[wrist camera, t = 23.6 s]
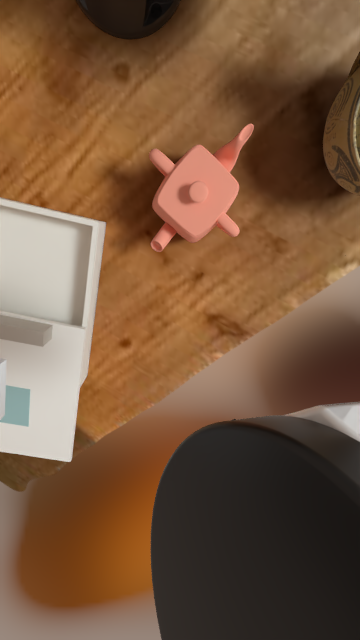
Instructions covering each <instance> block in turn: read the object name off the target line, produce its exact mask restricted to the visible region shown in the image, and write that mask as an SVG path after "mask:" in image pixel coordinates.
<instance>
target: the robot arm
mask: <svg viewBox="0 0 360 640" xmlns="http://www.w3.org/2000/svg"><path fill="white" fill-rule="evenodd" d="M180 1H181V0H76V2H77V3H78V5H79V7H80V8H81V10H82V11H83V12H84V14H85V15H86V16H87V17H88V19H89V20H90V21H91V22H92V23H94V24H95V25H96V26H97V27H98V28H100V29H101V30H103V31H104V32H106V33H108V34H110V35H112V36H115V37H118V38H122V39H138V38H143V37H146V36H148V35H151V34H153V33H154V32H156V31H157V30H159V29H160V28H161V27H162V26H164V25H165V24H166V23H167V21H168V20H169V19H170V18H171V17H172V15H173V14H174V12H175V11H176V9H177V7H178V5H179V3H180ZM6 361H7V359H3V358H0V420H1V419H2V418H3V417H4V415H5V396H6Z"/></svg>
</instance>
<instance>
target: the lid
mask: <svg viewBox="0 0 360 640" xmlns="http://www.w3.org/2000/svg"><path fill="white" fill-rule="evenodd" d="M86 329H87V328H85V327H80V326H75V325H70V324H65V323H60V322H55V321H50V320H45V319H40V318H34V317H29V316H24V315H19V314H14V313H9V312H4V311H0V358H3V359H7V361H6V396H5V415H4V417H3V418H2V419H1V420H0V451H1V452H7V453H14V454H21V455H27V456H34V457H40V458H47V459H53V460H60V461H67V462H70V461H71V459H72V452H73V443H74V434H75V426H76V417H77V408H78V399H79V391H80V382H81V373H82V364H83V355H84V347H85V338H86Z"/></svg>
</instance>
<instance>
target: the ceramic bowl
mask: <svg viewBox="0 0 360 640" xmlns="http://www.w3.org/2000/svg"><path fill="white" fill-rule="evenodd" d="M323 153H324V159H325V163H326V166H327V168H328V170H329V172H330V174H331V176H332V177H333V179H334V180H335V181H336V182H337V183H338V184H339V185H340V186H342V187H343V188H344V189H345V190H347V191H349V192H351V193H354V194H356V195H360V52H359V54H358V56H357V58H356V60H355V62H354V64H353V66H352V69H351V71H350V74H349V76H348V78H347V80H346V81H345V83H344V85H343V86H342V88H341V90H340V91H339V93H338V95H337V96H336V98H335V100H334V102H333V104H332V106H331V109H330V111H329V114H328V117H327V120H326V124H325V130H324V136H323Z"/></svg>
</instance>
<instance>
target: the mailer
mask: <svg viewBox="0 0 360 640" xmlns="http://www.w3.org/2000/svg"><path fill="white" fill-rule="evenodd" d="M105 228H106V222H103V221H99V220H95V219H90V218H86V217H82V216H77V215H73V214H69V213H65V212H60V211H56V210H52V209H47V208H43V207H39V206H35V205H30V204H26V203H22V202H17V201H13V200H9V199H5V198H0V311H4V312H9V313H14V314H19V315H24V316H29V317H34V318H40V319H45V320H50V321H55V322H60V323H65V324H70V325H75V326H80V327H85V328H87V329H86V338H85V347H84V355H83V364H82V373H81V382H80V387H81V385H82V384H83V382H84V380H85V379H86V377H87V374H88V366H89V358H90V350H91V342H92V334H93V326H94V318H95V309H96V301H97V293H98V285H99V277H100V269H101V261H102V252H103V244H104V236H105Z"/></svg>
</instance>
